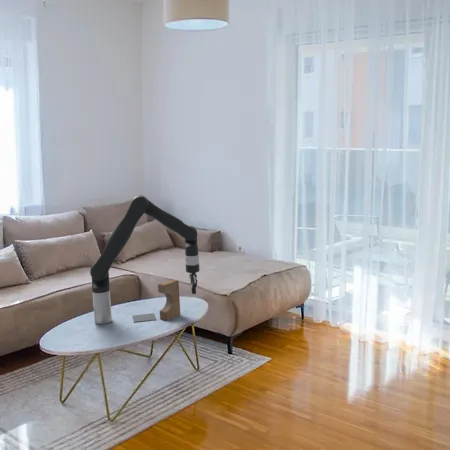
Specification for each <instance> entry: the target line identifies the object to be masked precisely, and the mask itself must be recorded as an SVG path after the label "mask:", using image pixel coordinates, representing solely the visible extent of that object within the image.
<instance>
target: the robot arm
mask: <svg viewBox="0 0 450 450" xmlns="http://www.w3.org/2000/svg"><path fill="white" fill-rule="evenodd" d="M144 214H145V215H148V216H150V217H151V218H153V219H154V220H156V221H157V222H159V223H160V224H162V225H163V226H164V227H166V228H168V229H169V230H171V231H173V232H175V233H177V234H178V235H179V236H180V237H182V238H183V239H184V242H185V245H184V246H185V247H184V248H185V249H184V253H185V254H184V255H185V259H184V263H185V272H186V273H187V274H188V273H189V274H188V278H189V285H190V287H191V294H192V295H197V286H198V275H197V273H199V272H200V271H201V270H200V258H199V257H200V256H199V246H198V231H197V228H196V227H195V226H192V225H187V224H186V223H185V222H183V220H182V219H179V218H178V217H176V216H174V215H173V214H171V213H168V212H167V211H165V210H163V209H161V208H160V207H158V206H157V205H155V204H154V203H153V202H152V201H150V200H149V199H148V198H147V197H146V196H144V195H143V194H140V195H136V196H134V197H133V199H131V202H130V204H129V207H128V209H127V211H126V214H125V215H124V217H123V218H122V219H121V220H120V221H119V222H118V224H117V225H116V227H115V228H114V229H113V231H112V232H111V234H110V236H109V237H108V240H107V242H106V244H105V246H104V248H103V251H102V253H101V254H100V256H99V257H98V259H97V260H96V261H95V262H93V263H92V264H91V266H90V270H89V271H90V272H89V274H90V277H91V293H92V303H93V305H92V306H93V316H94V324H95V325H96V324H98V325H104V324H105V325H106V324H108V323H111V322H112V321H113V316H112V304H111V303H112V302H111V292H110V291H111V288H110V276H109V275H110V273H109V272H110V271H109V270H110V269H111V267H112V265H113V263H114V262H115V260H116V258H117V257H118V256H119V254H120V253H121V252H122V250H123V249H124V247H125V246H126V245H127V243H128V241H129V239H130V238H131V236H132V234H133V232H134V230H135V227H136V225H137V223H138V222H139V220H140V219H141V218H142V217H143V215H144Z"/></svg>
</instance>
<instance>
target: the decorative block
mask: <svg viewBox="0 0 450 450" xmlns="http://www.w3.org/2000/svg"><path fill="white" fill-rule="evenodd" d="M179 282H180V281H179V280H178V279H169V280H165V281H163V282H159V283H158V284H157V288H158V289H157V290H158V291H157V292H158V293H160V294H164V296H165V298H166V301H165V305H164V306H163V307H162V309H160V310H159V320H163V321H170V320H172V319H175V318H177V317H180V316H181V303H180V302H181V300H180V299H181V298H180V286H179Z"/></svg>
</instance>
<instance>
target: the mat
mask: <svg viewBox="0 0 450 450" xmlns="http://www.w3.org/2000/svg"><path fill="white" fill-rule="evenodd" d="M132 319H133V323H134V324H135V323H142V322H143V323H144V322H151V321H157V317H156V315H155V313H154V312H153V313H144V314H135V315H132Z"/></svg>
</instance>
